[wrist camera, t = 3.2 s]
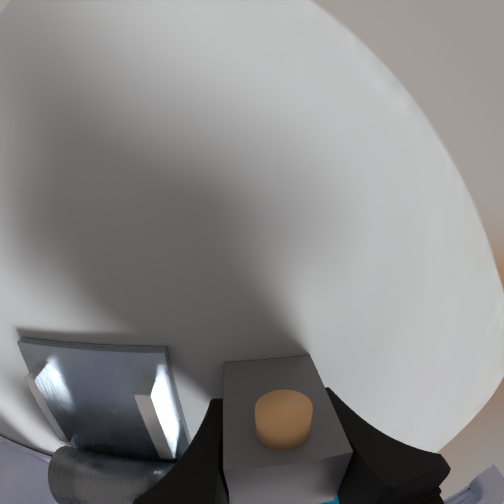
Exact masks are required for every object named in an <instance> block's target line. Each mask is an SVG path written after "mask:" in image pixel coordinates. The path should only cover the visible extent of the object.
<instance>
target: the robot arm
mask: <svg viewBox="0 0 504 504" xmlns="http://www.w3.org/2000/svg"><path fill="white" fill-rule="evenodd" d="M325 389H326V392H327V394H328V396H329V398H330V401H331V403H332V405H333V407H334V410H335V412H336V414H337V416H338V419H339V421H340V423H341V425H342V428H343V430H344V432H345V434H346V437H347V439H348V441H349V444H350V446H351V448H352V450H353V453H352V456H351V459H350V461H349V464H348V467H347V469H346V472H345V475H344V477H343V480H342V482H341V484H340V487H339V489H338V492H337V496H338V500H339V504H504V477H503V475H502V474H501V473H500V471H499V470H498V469H497V467H496V466H495V465H491V466H490V467H489V468H487V469H486V470H484V471H483V472H482V473H480V474H479V475H478V476H476V477H475V478H474V479H473V480H472V481H471V483H470V484H469V485H468V486H467V487H465V488H464V489H462V490H460V491H459V492H457V493H455V494H454V495H452V496H450V497H448V498H447V499H445V500H442V498H441V497H440V495H439V494H440V493H441V489H440V488H439V485H440V484H441V483H442V482H443V480H444V479H445V478H446V477H447V476H448V474H449V472H450V469H451V468H450V467H449V465H448V463H447V462H446V461H445V459H444V458H443V457H442V456H441V454H436V453H432V452H428V451H424V450H420V449H417V448H414V447H411V446H409V445H406V444H404V443H402V442H400V441H397V440H395V439H393V438H391V437H389V436H387V435H385V434H384V433H382V432H381V431H379V430H377V429H376V428H374V427H373V426H371V425H370V424H369V423H367V422H366V421H365V420H363V419H362V418H361V417H360V416H358V415H357V414H356V413H355V412H354V411H353V410H351V409H350V408H349V407H348V406H347V405H346V404H345V403H344V402H343V401H342V400H341V399H340V398H339V397H338V396H337V395H336V394H335V393H334V392H333V391H332V390H331V389H330V388H329V387H327V388H325ZM51 458H52V457H51V456H48V455H45V454H42V453H39V452H37V451H34V450H31V449H29V448H26V447H24V446H21V445H19V444H17V443H14V442H12V441H10V440H8V439H6V438H3V437H1V436H0V504H58V503H57V502H56V501H55V499H54V498H53V496H52V494H51V491H50V488H49V484H48V467H49V463H50V460H51ZM132 504H229V490H228V487H227V483H226V479H225V475H224V471H223V399H212V400H211V401H210V404H209V407H208V410H207V412H206V415H205V417H204V420H203V422H202V424H201V426H200V428H199V430H198V432H197V433H196V435H195V437H194V438H193V440H192V442H191V443H190V445H189V447H188V448H187V449H186V451H185V452H184V454H183V455H182V456H181V458H180V459H179V460H178V461H177V463H176V464H175V465H174V466H173V467H172V468H171V469H170V471H169V472H168V473H167V474H166V475H165V476H164V477H162V478H161V479H160V480H159V481H158V482H157V483H156V484H155V485H154V486H152V487H151V488H150V489H149V490H147V491H146V492H144V493H143V494H142V495H140V496H139V497H137V498H136V499H135V500H134V501H133V503H132Z"/></svg>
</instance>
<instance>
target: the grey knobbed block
mask: <svg viewBox="0 0 504 504" xmlns="http://www.w3.org/2000/svg"><path fill="white" fill-rule="evenodd" d="M352 453H353V450H352V448H351V446H350V444H349V441H348V439H347V437H346V434H345V432H344V430H343V428H342V425H341V423H340V421H339V419H338V416H337V414H336V412H335V410H334V407H333V405H332V403H331V401H330V398H329V396H328V394H327V392H326V389H325V387H324V385H323V383H322V380H321V378H320V376H319V374H318V372H317V369H316V367H315V365H314V363H313V360H312V358H311V356H310V355H302V356H293V357H284V358H275V359H264V360H251V361H237V362H224V372H223V471H224V475H225V479H226V483H227V487H228V490H229V494H230V498H231V502H232V504H320V503H324V502H329V501H333V500H334V498H335V496H336V494H337V492H338V489H339V487H340V484H341V482H342V480H343V477H344V475H345V472H346V469H347V467H348V464H349V461H350V459H351V456H352Z"/></svg>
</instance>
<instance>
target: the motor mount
mask: <svg viewBox="0 0 504 504" xmlns="http://www.w3.org/2000/svg"><path fill="white" fill-rule="evenodd" d="M17 343H18V346H19V348H20V351H21V353H22V355H23V358H24V360H25V363H26V365H27V367H28V369H29V373H28V374H27V376H26V377H25V380H26V382H27V384H28V386H29V388H30V390H31V392H32V394H33V396H34V398H35V400H36V402H37V403H38V405H39V407H40V409H41V411H42V412H43V414H44V416H45V417H46V419H47V421H48V422H49V424H50V426H51V427H52V429H53V430H54V432H55V433H56V435H57V437H58V438H59V440H61V441H65V442H69V443H70V445H71V446H72V447H70V446H63V447H60V448H59V449H58V450H56V451H55V453H54V454H53V456H52V458H51V460H50V463H49V467H48V484H49V488H50V491H51V494H52V496H53V498H54V499H55V501H56V502H57V503H58V504H132V503H133V501H134V500H135V499H136V498H137V497H139V496H140V495H142V494H143V493H144V492H146V491H147V490H149V489H150V488H151V487H152V486H154V485H155V484H156V483H157V482H158V481H159V480H160V479H161V478H162V477H164V476H165V475H166V474H167V473H168V472H169V471H170V469H171V468H172V467H173V466H174V465H175V464H176V463H177V461H178V460H179V459H180V458H181V456H182V455H183V454H184V452H185V451H186V449H187V448H188V447H189V445H190V443H191V439H190V435H189V432H188V429H187V425H186V422H185V419H184V415H183V412H182V408H181V404H180V401H179V397H178V393H177V389H176V385H175V381H174V377H173V373H172V369H171V364H170V360H169V355H168V351H167V346H126V345H102V344H85V343H72V342H61V341H50V340H41V339H33V338H25V337H22V338H21V339H20V340H19V341H18V342H17Z"/></svg>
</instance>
